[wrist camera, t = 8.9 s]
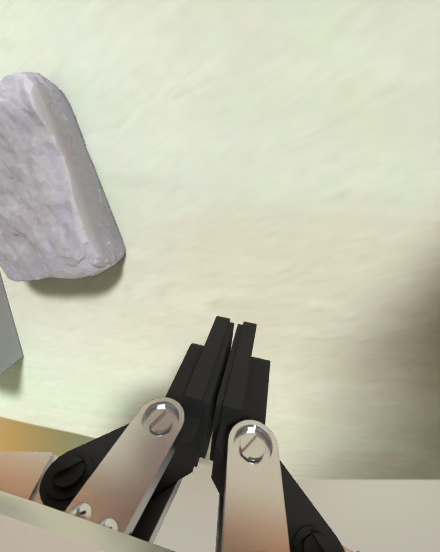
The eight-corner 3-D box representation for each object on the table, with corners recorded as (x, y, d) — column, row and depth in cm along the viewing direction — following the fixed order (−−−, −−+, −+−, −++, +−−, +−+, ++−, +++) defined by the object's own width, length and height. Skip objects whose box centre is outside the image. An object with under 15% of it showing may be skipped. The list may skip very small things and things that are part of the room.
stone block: (56, 269, 24) (141, 258, 20) (0, 293, 20) (90, 285, 16) (-12, 126, 21) (75, 72, 16) (-98, 120, 16) (-13, 46, 12)
